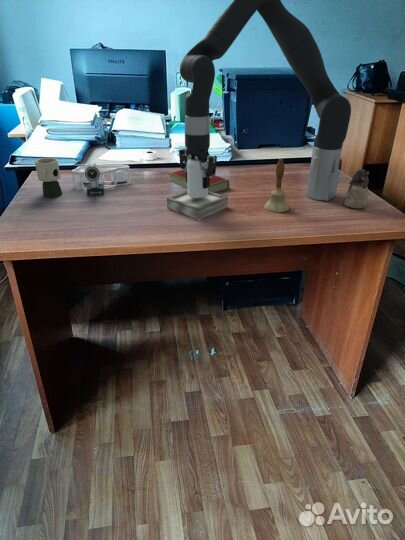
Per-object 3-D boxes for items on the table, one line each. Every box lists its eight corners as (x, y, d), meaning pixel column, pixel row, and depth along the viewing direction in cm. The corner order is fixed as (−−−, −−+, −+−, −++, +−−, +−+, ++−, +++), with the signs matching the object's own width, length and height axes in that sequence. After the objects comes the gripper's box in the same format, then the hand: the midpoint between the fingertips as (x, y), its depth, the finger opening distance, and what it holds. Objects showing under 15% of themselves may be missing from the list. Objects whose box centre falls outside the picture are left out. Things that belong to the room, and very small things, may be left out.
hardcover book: (192, 176, 160) (192, 166, 158) (229, 190, 147) (229, 178, 145) (168, 182, 153) (168, 172, 151) (205, 197, 140) (205, 186, 138)
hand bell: (270, 213, 127) (275, 164, 119) (260, 204, 134) (264, 156, 125) (293, 211, 129) (300, 162, 120) (282, 202, 136) (288, 154, 127)
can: (207, 198, 125) (207, 160, 119) (187, 198, 126) (186, 160, 119) (207, 191, 131) (208, 155, 125) (188, 191, 131) (187, 154, 125)
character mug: (60, 203, 133) (52, 165, 127) (38, 203, 133) (30, 165, 126) (67, 192, 143) (61, 155, 136) (47, 192, 142) (39, 155, 136)
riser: (227, 207, 131) (227, 197, 129) (198, 220, 122) (198, 209, 120) (196, 197, 139) (196, 187, 137) (167, 208, 130) (166, 197, 128)
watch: (87, 200, 136) (82, 168, 130) (88, 191, 143) (84, 160, 137) (104, 199, 137) (100, 168, 131) (104, 190, 144) (100, 160, 138)
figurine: (356, 199, 138) (363, 165, 131) (370, 207, 132) (379, 171, 126) (339, 202, 135) (346, 167, 129) (353, 209, 130) (361, 173, 124)
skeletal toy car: (131, 181, 154) (130, 162, 150) (129, 191, 144) (128, 171, 140) (79, 182, 152) (76, 163, 148) (73, 192, 143) (70, 172, 139)
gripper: (224, 132, 116) (222, 187, 125) (188, 125, 125) (189, 177, 133) (207, 137, 112) (206, 194, 120) (171, 129, 120) (173, 183, 128)
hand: (197, 185), depth 127 cm, fingers closed on can, 6 cm apart
